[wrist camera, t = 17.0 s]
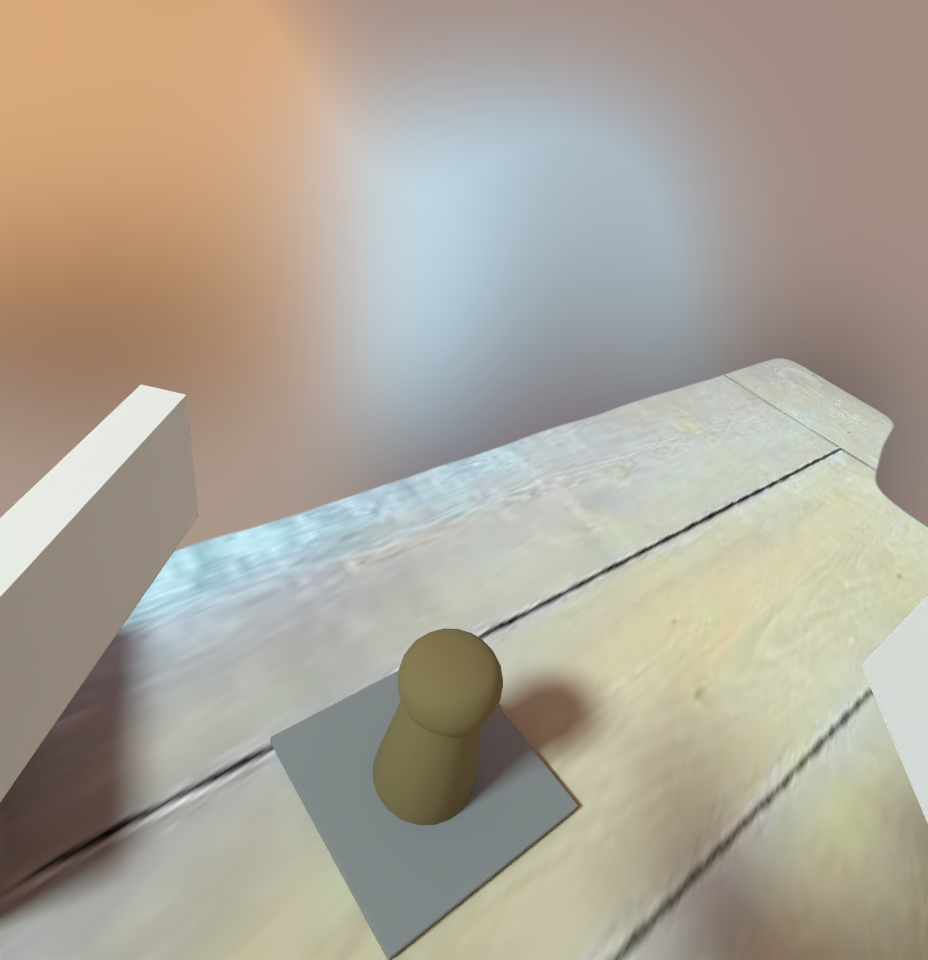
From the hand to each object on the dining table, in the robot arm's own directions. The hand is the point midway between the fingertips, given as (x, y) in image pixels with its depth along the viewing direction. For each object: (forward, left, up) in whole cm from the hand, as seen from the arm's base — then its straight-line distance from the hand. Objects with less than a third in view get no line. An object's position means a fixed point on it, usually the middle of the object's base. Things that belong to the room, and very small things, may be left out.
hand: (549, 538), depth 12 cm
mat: (+8, -8, -30) cm, 32 cm away
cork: (+8, -8, -30) cm, 31 cm away
